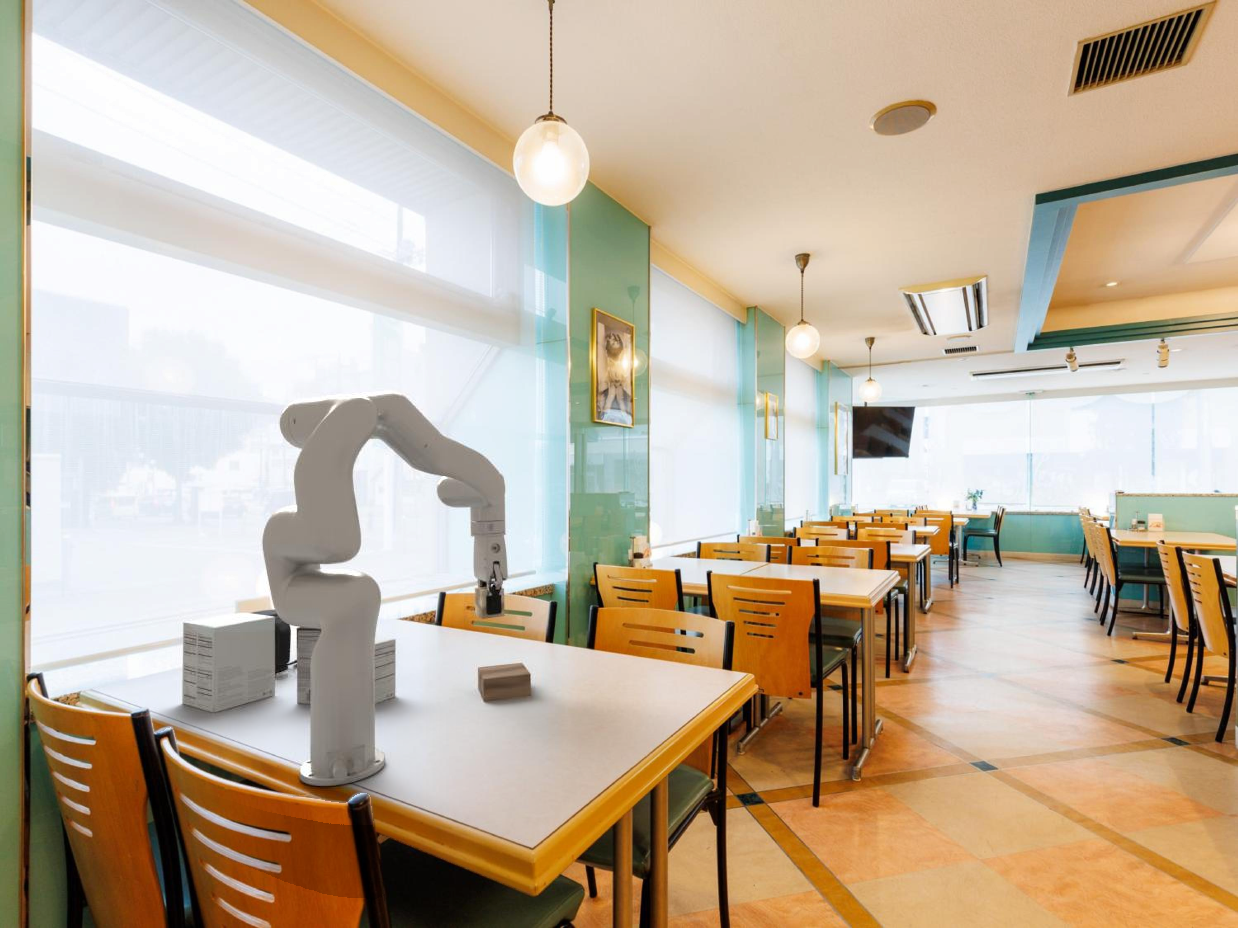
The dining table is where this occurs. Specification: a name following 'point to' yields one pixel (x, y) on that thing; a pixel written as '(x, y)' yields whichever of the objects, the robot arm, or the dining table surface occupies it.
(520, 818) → the dining table surface
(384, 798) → the dining table surface
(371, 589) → the robot arm
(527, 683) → the walnut block
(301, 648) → the coffee box
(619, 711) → the dining table surface
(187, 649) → the supplement box
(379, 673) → the supplement box
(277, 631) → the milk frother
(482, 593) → the maple block
